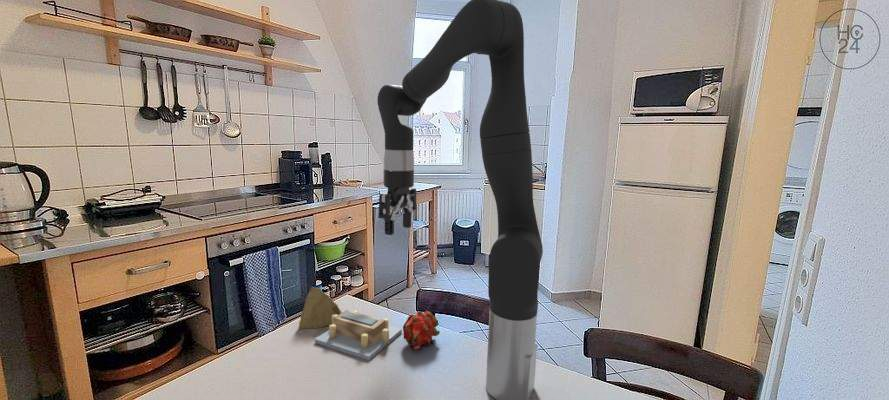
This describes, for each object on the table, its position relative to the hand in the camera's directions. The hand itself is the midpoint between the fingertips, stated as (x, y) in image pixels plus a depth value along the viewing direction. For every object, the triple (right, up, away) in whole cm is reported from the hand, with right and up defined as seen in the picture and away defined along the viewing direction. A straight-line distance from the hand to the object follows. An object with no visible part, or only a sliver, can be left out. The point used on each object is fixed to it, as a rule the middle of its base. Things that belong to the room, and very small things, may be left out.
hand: (398, 230), depth 98 cm
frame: (-9, -26, -3) cm, 27 cm away
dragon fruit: (+6, -28, -5) cm, 29 cm away
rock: (-21, -26, +4) cm, 33 cm away
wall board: (-9, -27, -3) cm, 28 cm away
